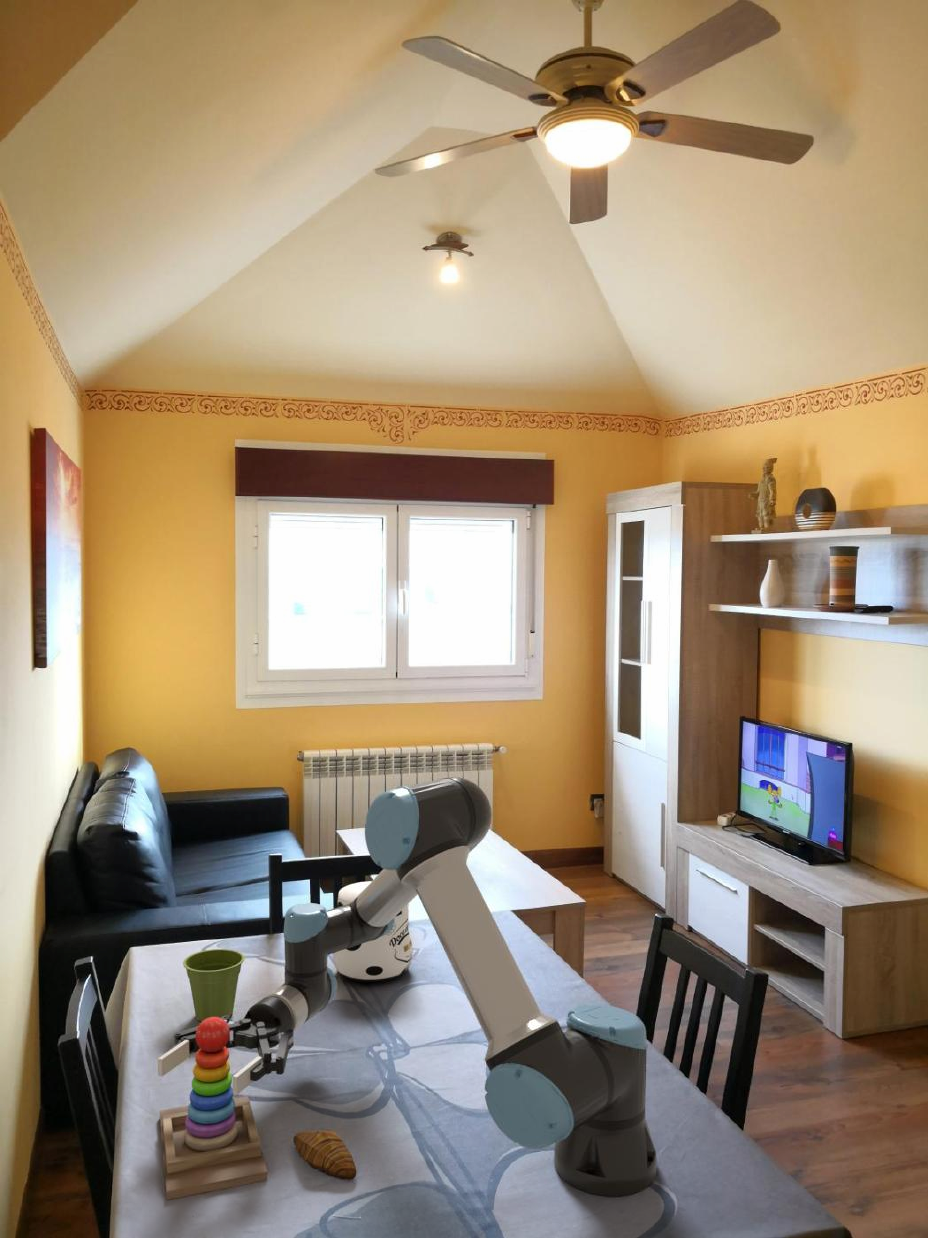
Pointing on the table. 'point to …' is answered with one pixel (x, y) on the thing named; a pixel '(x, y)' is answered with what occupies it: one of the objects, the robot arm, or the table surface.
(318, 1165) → the croissant
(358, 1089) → the table surface
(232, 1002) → the plant pot
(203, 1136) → the stacking toy
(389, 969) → the milk container
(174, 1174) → the toy stand
